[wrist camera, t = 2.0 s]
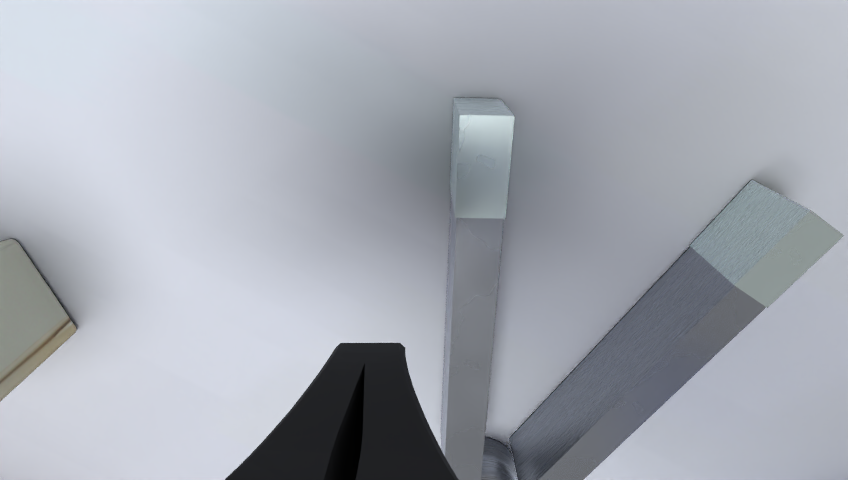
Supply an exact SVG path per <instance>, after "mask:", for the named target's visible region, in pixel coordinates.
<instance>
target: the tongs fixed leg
mask: <svg viewBox="0 0 848 480" xmlns="http://www.w3.org/2000/svg"><path fill="white" fill-rule="evenodd" d="M843 236H844V235H842V234H841V233H840V232H838V231H837V230H836V229H834V228H833V227H832V226H831V225H829V224H828V223H827V222H825V221H824V220H823V219H821V218H820V217H819V216H817V215H816V214H815V213H813V212H812V211H811V210H809V209H807V208H805V207H803V206H801V205H800V204H798V203H796V202H794V201H792V200H790V199H788V198H786V197H784V196H782V195H780V194H778V193H776V192H775V191H773V190H771V189H769V188H767V187H765V186H763V185H761V184H759V183H757V182H755V181H753V180H751V181H750V182H749V183H748V184H747V185H746V186H745V187H744V188H743V189H742V190H741V191H740V193H739V194H738V195H737V196H736V197H735V198H734V199H733V200H732V201H731V202H730V203H729V204H728V205H727V206H726V207H725V208H724V210H723V211H722V212H721V213H720V214H719V215H718V216H717V217H716V218H715V219H714V220H713V221H712V222H711V223H710V224H709V225H708V227H707V228H706V229H705V230H704V231H703V232H702V233H701V234H700V235H699V236H698V237H697V238H696V239H695V240H694V241H693V242H692V244H691V245H690V247H689V248H688V250H687V251H686V252H685V253H684V254H683V255H682V256H681V257H680V258H679V259H678V260H677V261H676V262H675V263H674V264H673V265H672V267H671V268H670V269H669V270H668V271H667V272H666V273H665V274H664V275H663V276H662V277H661V278H660V279H659V280H658V281H657V282H656V283H655V285H654V286H653V287H652V288H651V289H650V290H649V291H648V292H647V293H646V294H645V295H644V296H643V297H642V298H641V299H640V300H639V302H638V303H637V304H636V305H635V306H634V307H633V308H632V309H631V310H630V311H629V312H628V313H627V314H626V315H625V316H624V317H623V318H622V320H621V321H620V322H619V323H618V324H617V325H616V326H615V327H614V328H613V329H612V330H611V331H610V332H609V333H608V334H607V335H606V337H605V338H604V339H603V340H602V341H601V342H600V343H599V344H598V345H597V346H596V347H595V348H594V349H593V350H592V351H591V352H590V354H589V355H588V356H587V357H586V358H585V359H584V360H583V361H582V362H581V363H580V364H579V365H578V366H577V367H576V368H575V369H574V370H573V372H572V373H571V374H570V375H569V376H568V377H567V378H566V379H565V380H564V381H563V382H562V383H561V384H560V385H559V386H558V387H557V389H556V390H555V391H554V392H553V393H552V394H551V395H550V396H549V397H548V398H547V399H546V400H545V401H544V402H543V403H542V404H541V406H540V407H539V408H538V409H537V410H536V411H535V412H534V413H533V414H532V415H531V416H530V417H529V418H528V419H527V420H526V421H525V422H524V424H523V425H522V426H521V427H520V428H519V429H518V430H517V431H516V432H515V433H514V434H513V435H512V436H511V437H510V443H511V448H512V453H513V458H514V463H515V468H516V473H517V477H516V473H515V468H514V463H513V458H512V455H511V453H510V451H509V450H508V448H507V447H506V446H505V445H503V444H502V443H500V442H499V441H496V440H494V439H491V438H486V437H485V440H484V451H483V462H482V474H481V480H517V478H518V480H583V479H584V478H585V477H587V476H588V475H589V474H590V473H591V472H592V471H593V470H594V469H595V468H596V467H597V466H598V465H599V464H600V463H601V462H602V461H604V460H605V459H606V458H607V457H608V456H609V455H610V454H611V453H612V452H613V451H614V450H615V449H616V448H617V447H618V446H619V445H620V444H622V443H623V442H624V441H625V440H626V439H627V438H628V437H629V436H630V435H631V434H632V433H633V432H634V431H635V430H636V429H637V428H639V427H640V426H641V425H642V424H643V423H644V422H645V421H646V420H647V419H648V418H649V417H650V416H651V415H652V414H653V413H654V412H656V411H657V410H658V409H659V408H660V407H661V406H662V405H663V404H664V403H665V402H666V401H667V400H668V399H669V398H670V397H671V396H672V395H674V394H675V393H676V392H677V391H678V390H679V389H680V388H681V387H682V386H683V385H684V384H685V383H686V382H687V381H688V380H689V379H691V378H692V377H693V376H694V375H695V374H696V373H697V372H698V371H699V370H700V369H701V368H702V367H703V366H704V365H705V364H706V363H707V362H709V361H710V360H711V359H712V358H713V357H714V356H715V355H716V354H717V353H718V352H719V351H720V350H721V349H722V348H723V347H724V346H726V345H727V344H728V343H729V342H730V341H731V340H732V339H733V338H734V337H735V336H736V335H737V334H738V333H739V332H740V331H741V330H742V329H744V328H745V327H746V326H747V325H748V324H749V323H750V322H751V321H752V320H753V319H754V318H755V317H756V316H757V315H758V314H759V313H761V312H762V311H763V310H764V309H765V308H766V307H767V308H768V307H769V306H770V305H771V304H772V303H773V302H774V301H775V300H776V299H777V298H778V297H779V296H780V295H781V294H783V293H784V292H785V291H786V290H787V289H788V288H789V287H790V286H791V285H792V284H793V283H794V282H795V281H796V280H797V279H798V278H800V277H801V276H802V275H803V274H804V273H805V272H806V271H807V270H808V269H809V268H810V267H811V266H812V265H813V264H814V263H815V262H817V261H818V260H819V259H820V258H821V257H822V256H823V255H824V254H825V253H826V252H827V251H828V250H829V249H830V248H831V247H832V246H834V245H835V244H836V243H837V242H838V241H839V240H840V239H841V238H842V237H843Z"/></svg>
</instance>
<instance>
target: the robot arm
mask: <svg viewBox="0 0 848 480" xmlns="http://www.w3.org/2000/svg"><path fill="white" fill-rule="evenodd" d="M225 480H459V479H458V478H457V476H456V475H455V473H454V471H453V470H452V468H451V466H450V465H449V463H448V461H447V459H446V458H445V456H444V454H443V452H442V450H441V448H440V447H439V445H438V443H437V441H436V439H435V437H434V435H433V433H432V431H431V429H430V427H429V424H428V422H427V420H426V418H425V416H424V413H423V411H422V408H421V406H420V403H419V401H418V398H417V396H416V393H415V391H414V388H413V385H412V382H411V378H410V375H409V372H408V368H407V363H406V357H405V347H404V346H403V345H401V344H400V343H340V344H339V345H338V346H337V347H336V348H335V350H334V351H333V353H332V354H331V356H330V358H329V359H328V361H327V362H326V363H325V365H324V366H323V368H322V369H321V371H320V372H319V374H318V375H317V376H316V378H315V379H314V380H313V382H312V383H311V384H310V386H309V387H308V388H307V390H306V391H305V392H304V393H303V395H302V396H301V397H300V399H299V400H298V401H297V402H296V404H295V405H294V406H293V407H292V409H291V410H290V411H289V412H288V414H287V415H286V416H285V417H284V418H283V419H282V421H281V422H280V423H279V424H278V425H277V426H276V427H275V428H274V430H273V431H272V432H271V433H270V434H269V435H268V436H267V437H266V439H265V440H264V441H263V442H262V443H261V444H260V445H259V446H258V447H257V448H256V449H255V450H254V451H253V452H252V454H251V455H250V456H249V457H248V458H247V459H246V460H245V461H244V462H243V463H242V464H241V465H240V466H239V467H238V468H237V469H235V470H234V471H233V472H232V473H231V474H230V475H229V476H228V477H227V478H226V479H225Z"/></svg>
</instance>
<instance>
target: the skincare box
mask: <svg viewBox="0 0 848 480" xmlns="http://www.w3.org/2000/svg"><path fill="white" fill-rule="evenodd" d="M75 332H76V327H75V325H74V324H73V323H72V321H71V320H70V318H69V316H68V315H67V313H66V312H65V310H64V309H63V307H62V306H61V304H60V303H59V302H58V300H57V298H56V297H55V295H54V294H53V292H52V291H51V290H50V288H49V287H48V285H47V284H46V282H45V281H44V279H43V278H42V276H41V275H40V273H39V272H38V271H37V269H36V268H35V266H34V265H33V263H32V262H31V260H30V259H29V257H28V256H27V254H26V253H25V251H24V250H23V249H22V247H21V245H20V244H19V243H18V242H17V241H16V240H14V239H8V240H4V241H1V242H0V401H1V400H2V399H4V398H5V397H6V396H7V395H8V394H9V393H10V392H11V391H12V390H13V389H14V388H15V387H17V386H18V385H19V384H20V383H21V382H22V381H23V380H24V379H25V378H26V377H27V376H28V375H29V374H31V373H32V372H33V371H34V370H35V369H36V368H37V367H38V366H39V365H40V364H42V363H43V362H44V361H45V360H46V359H47V358H48V357H49V356H50V355H51V354H52V353H54V352H55V351H56V350H57V349H58V348H59V347H60V346H61V345H62V344H63V343H64V342H65V341H66V340H67V339H69V338H70V337H71V336H72V335H73V334H74V333H75Z"/></svg>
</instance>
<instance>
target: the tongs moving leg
mask: <svg viewBox="0 0 848 480" xmlns="http://www.w3.org/2000/svg"><path fill="white" fill-rule="evenodd" d="M514 120H515V116H514V114H513V113H512V112H511V111H510V110H509V109H508V108H507V106H506V105H505V104H504V103H503V102H502V101H501V99H494V98H454V102H453V125H452V149H451V173H450V190H451V206H450V229H449V253H448V276H447V299H446V322H445V345H444V368H443V391H442V414H441V444H442V452H443V454H444V456H445V458H446V459H447V461H448V463H449V465H450V466H451V468H452V470H453V471H454V473H455V475H456V476H457V478H458V479H459V480H481V474H482V462H483V451H484V440H485V428H486V417H487V406H488V394H489V383H490V372H491V360H492V349H493V338H494V326H495V315H496V303H497V292H498V281H499V269H500V258H501V247H502V235H503V224H504V219H506V209H507V198H508V187H509V176H510V165H511V154H512V142H513V131H514Z"/></svg>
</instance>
